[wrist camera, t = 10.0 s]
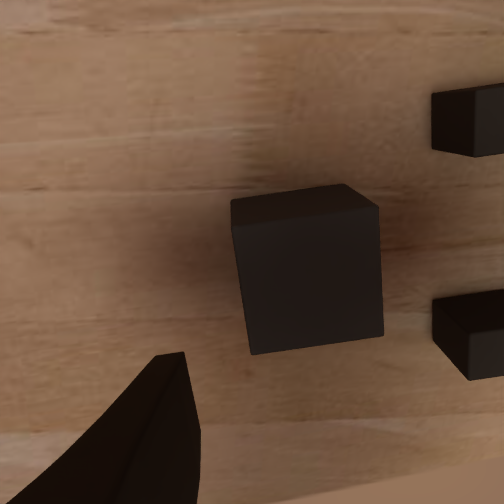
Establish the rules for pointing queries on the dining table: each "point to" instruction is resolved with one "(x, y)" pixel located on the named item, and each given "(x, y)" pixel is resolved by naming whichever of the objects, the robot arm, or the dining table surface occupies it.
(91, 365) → the dining table surface
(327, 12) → the dining table surface
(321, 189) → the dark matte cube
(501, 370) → the black u-shaped block
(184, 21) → the dining table surface
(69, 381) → the dining table surface
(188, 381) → the robot arm
